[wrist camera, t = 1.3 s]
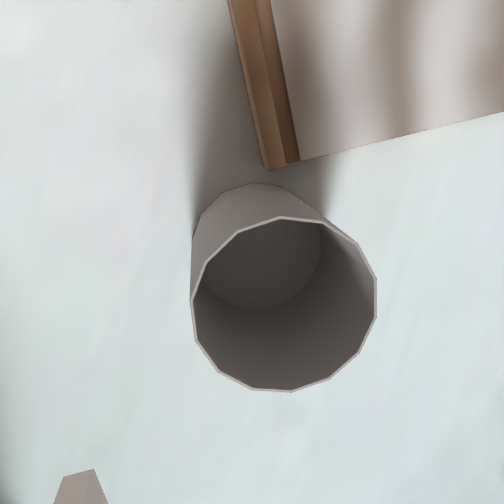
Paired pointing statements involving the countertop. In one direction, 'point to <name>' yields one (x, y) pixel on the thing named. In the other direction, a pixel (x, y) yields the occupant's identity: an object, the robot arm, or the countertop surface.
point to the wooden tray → (365, 70)
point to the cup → (277, 290)
